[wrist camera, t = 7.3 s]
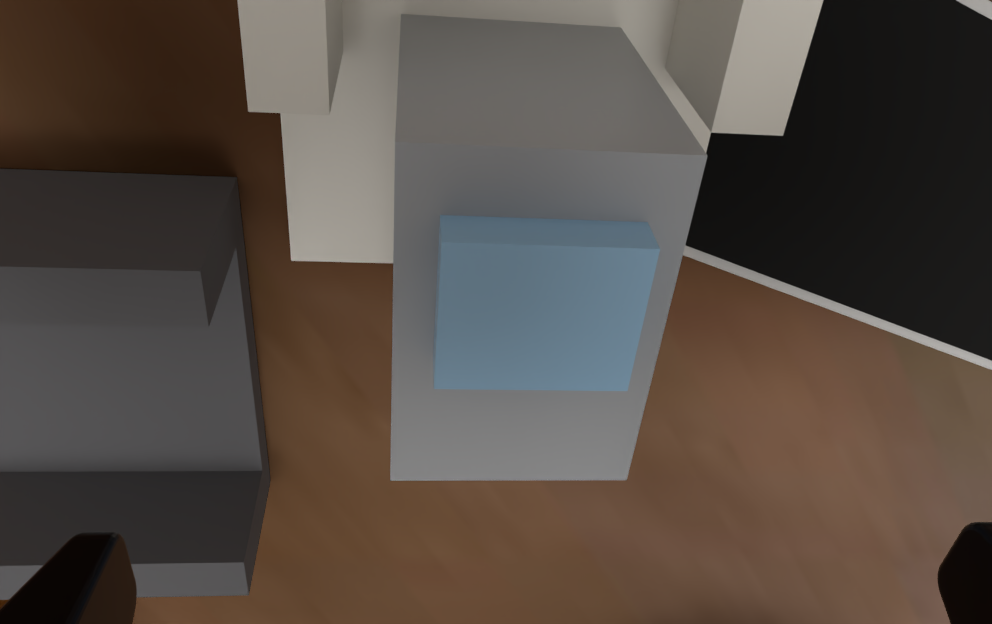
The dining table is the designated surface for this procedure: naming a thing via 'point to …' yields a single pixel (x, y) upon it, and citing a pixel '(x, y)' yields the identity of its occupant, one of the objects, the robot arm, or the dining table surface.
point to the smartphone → (871, 177)
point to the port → (379, 4)
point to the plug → (530, 247)
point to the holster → (129, 378)
